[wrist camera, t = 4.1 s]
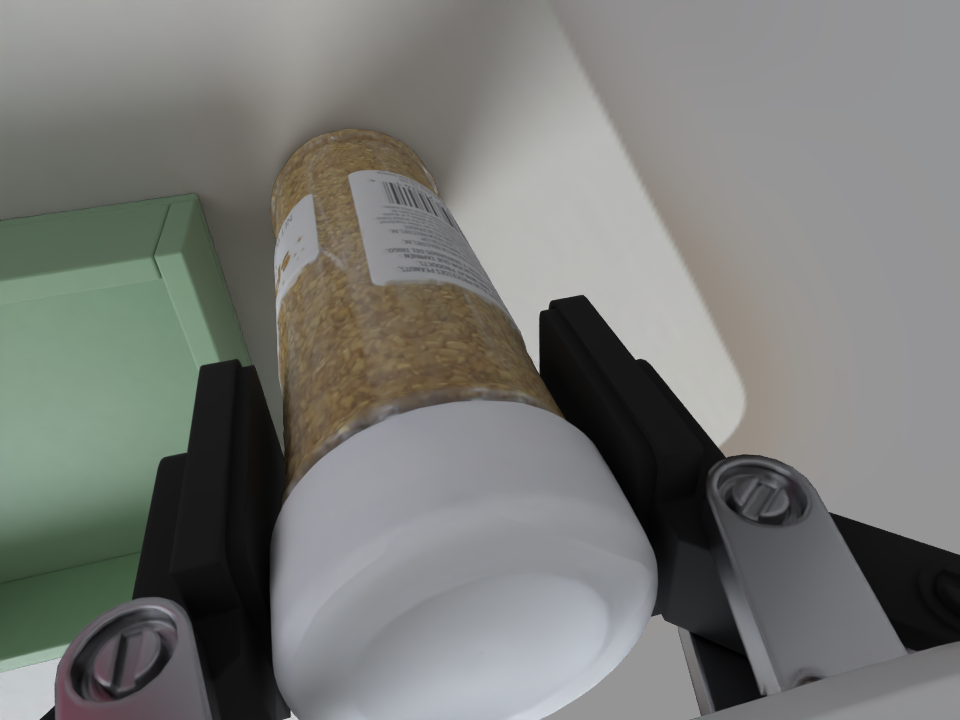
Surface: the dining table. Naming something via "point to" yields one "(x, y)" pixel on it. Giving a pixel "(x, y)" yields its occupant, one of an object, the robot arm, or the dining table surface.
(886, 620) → the robot arm
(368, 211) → the sprinkles bottle
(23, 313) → the green bin
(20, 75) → the dining table surface
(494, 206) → the dining table surface
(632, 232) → the dining table surface
